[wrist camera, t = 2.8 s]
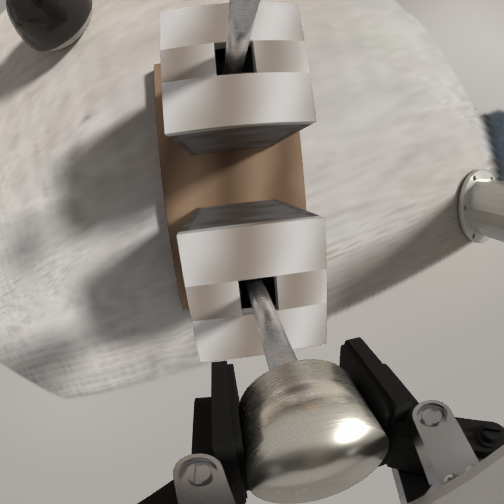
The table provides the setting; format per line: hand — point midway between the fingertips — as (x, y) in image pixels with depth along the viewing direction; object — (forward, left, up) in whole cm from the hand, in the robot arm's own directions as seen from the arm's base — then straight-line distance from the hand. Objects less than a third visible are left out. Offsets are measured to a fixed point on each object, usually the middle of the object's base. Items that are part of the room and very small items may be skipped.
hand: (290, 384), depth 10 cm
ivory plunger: (0, 0, -16) cm, 16 cm away
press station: (0, -7, -26) cm, 27 cm away
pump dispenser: (+21, -33, -26) cm, 48 cm away
